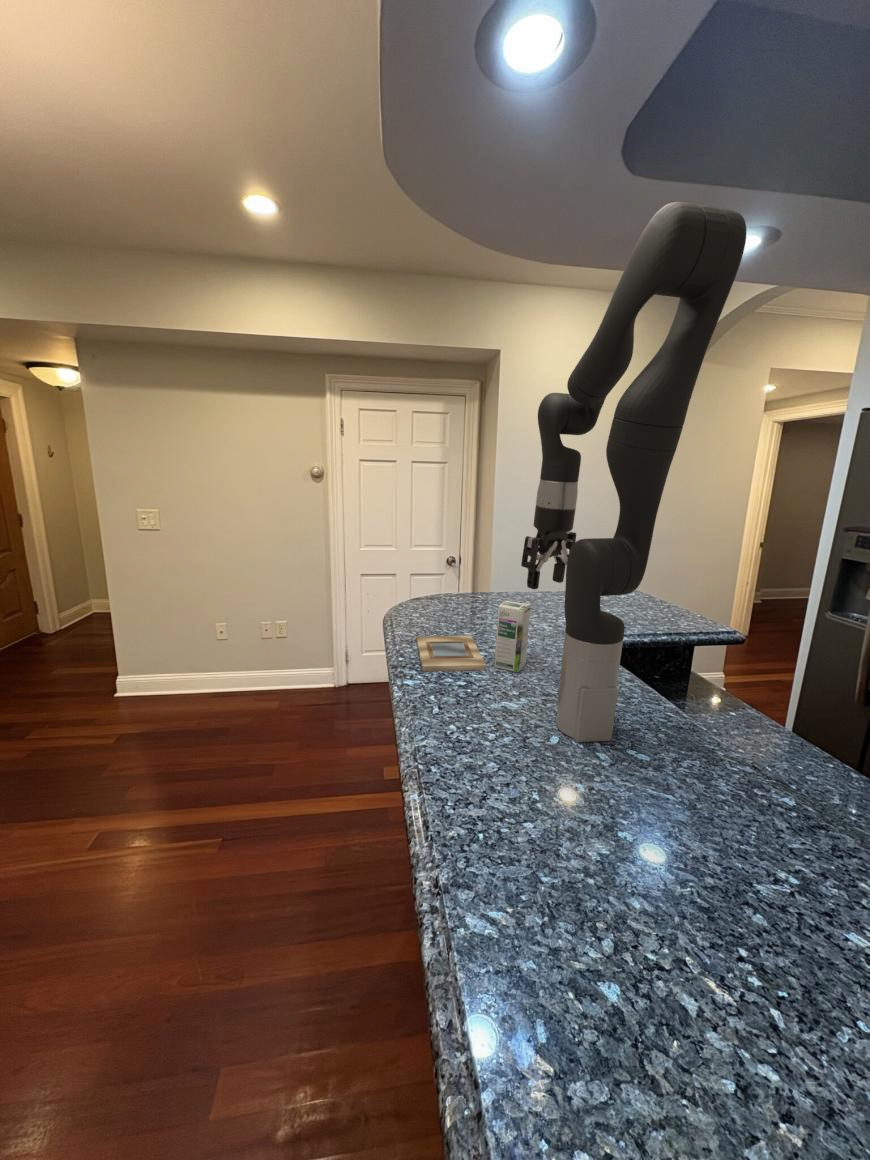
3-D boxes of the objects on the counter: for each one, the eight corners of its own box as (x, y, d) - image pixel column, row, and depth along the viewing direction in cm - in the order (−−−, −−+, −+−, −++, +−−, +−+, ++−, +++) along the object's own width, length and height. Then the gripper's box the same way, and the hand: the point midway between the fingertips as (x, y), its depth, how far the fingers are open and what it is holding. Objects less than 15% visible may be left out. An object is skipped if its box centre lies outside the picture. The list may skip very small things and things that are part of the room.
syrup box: (493, 667, 107) (497, 605, 103) (502, 658, 112) (506, 599, 108) (518, 673, 104) (523, 610, 101) (526, 664, 109) (531, 603, 106)
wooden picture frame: (486, 670, 105) (486, 664, 105) (422, 671, 104) (422, 665, 103) (470, 640, 123) (471, 635, 122) (416, 640, 121) (416, 635, 121)
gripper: (550, 509, 85) (539, 596, 90) (592, 505, 94) (581, 584, 99) (516, 503, 90) (508, 585, 95) (560, 500, 99) (550, 575, 104)
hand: (545, 584), depth 97 cm, fingers open, 8 cm apart
